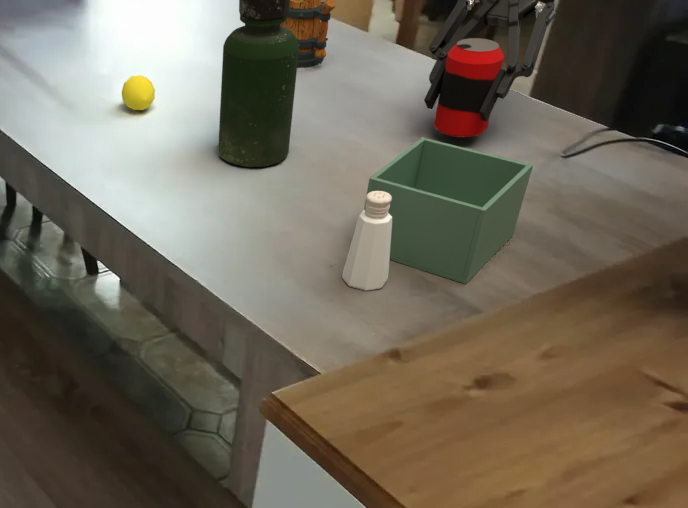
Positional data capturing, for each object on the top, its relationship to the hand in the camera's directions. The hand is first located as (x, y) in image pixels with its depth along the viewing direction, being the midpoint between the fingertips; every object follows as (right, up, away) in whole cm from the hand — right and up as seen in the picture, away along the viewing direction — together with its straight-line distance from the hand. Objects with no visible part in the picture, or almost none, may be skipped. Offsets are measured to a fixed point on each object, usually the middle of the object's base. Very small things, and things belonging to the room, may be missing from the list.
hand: (455, 110), depth 134 cm
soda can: (+2, -1, +5) cm, 5 cm away
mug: (-15, +21, +33) cm, 41 cm away
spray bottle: (-29, -5, +5) cm, 29 cm away
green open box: (-9, -23, -17) cm, 30 cm away
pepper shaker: (-20, -29, -22) cm, 42 cm away
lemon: (-45, +7, +20) cm, 50 cm away
